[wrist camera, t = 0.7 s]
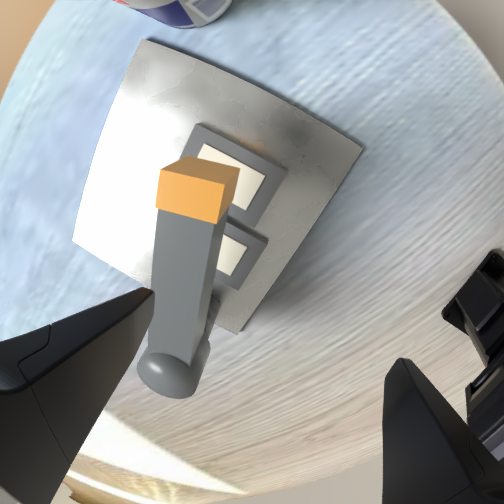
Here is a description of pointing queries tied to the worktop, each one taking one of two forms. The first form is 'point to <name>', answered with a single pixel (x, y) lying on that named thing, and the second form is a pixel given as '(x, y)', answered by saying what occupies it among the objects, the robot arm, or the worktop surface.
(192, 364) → the swing arm
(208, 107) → the plate
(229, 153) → the label tile
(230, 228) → the label tile
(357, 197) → the worktop surface
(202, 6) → the energy drink
